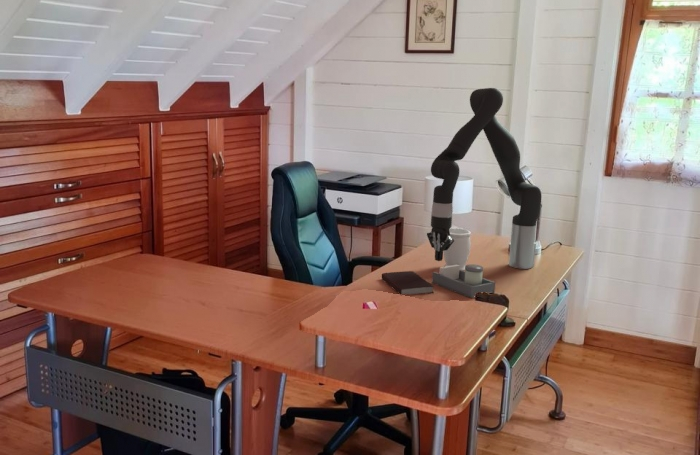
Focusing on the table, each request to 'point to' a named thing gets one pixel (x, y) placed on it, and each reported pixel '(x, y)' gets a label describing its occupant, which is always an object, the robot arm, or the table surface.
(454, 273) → the block
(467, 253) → the jar
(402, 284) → the book
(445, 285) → the grey tray
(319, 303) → the table surface
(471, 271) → the small jar
